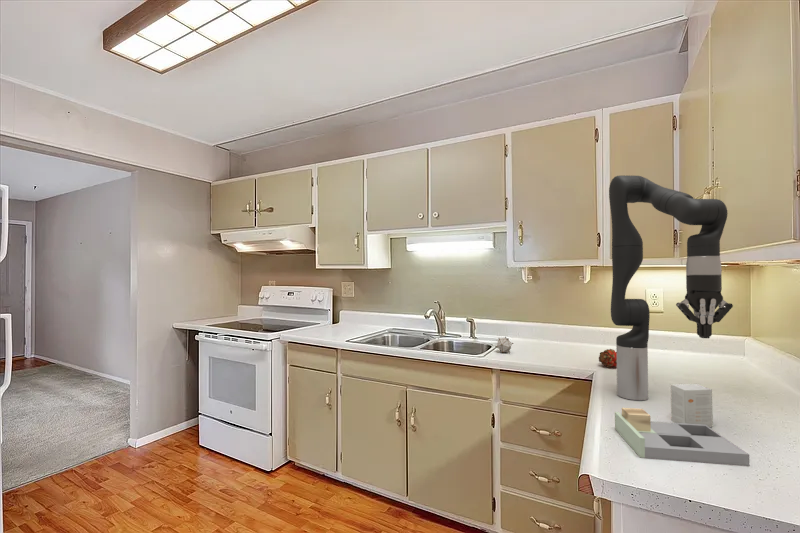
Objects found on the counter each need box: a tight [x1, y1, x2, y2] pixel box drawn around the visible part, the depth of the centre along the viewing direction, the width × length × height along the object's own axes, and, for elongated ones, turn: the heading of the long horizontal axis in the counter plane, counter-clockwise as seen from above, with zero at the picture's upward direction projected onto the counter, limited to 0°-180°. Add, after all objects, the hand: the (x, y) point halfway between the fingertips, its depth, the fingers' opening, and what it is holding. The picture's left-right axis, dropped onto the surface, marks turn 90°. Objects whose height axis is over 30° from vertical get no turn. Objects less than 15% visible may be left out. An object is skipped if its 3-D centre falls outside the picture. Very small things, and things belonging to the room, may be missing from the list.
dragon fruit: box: [598, 348, 617, 369], centre depth 175 cm, size 8×8×12 cm
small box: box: [670, 383, 714, 428], centre depth 111 cm, size 8×6×10 cm
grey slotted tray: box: [614, 411, 750, 467], centre depth 98 cm, size 17×22×4 cm
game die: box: [494, 336, 514, 354], centre depth 206 cm, size 9×8×10 cm
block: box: [621, 407, 652, 432], centre depth 103 cm, size 5×5×4 cm
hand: (704, 337), depth 106 cm, fingers closed
